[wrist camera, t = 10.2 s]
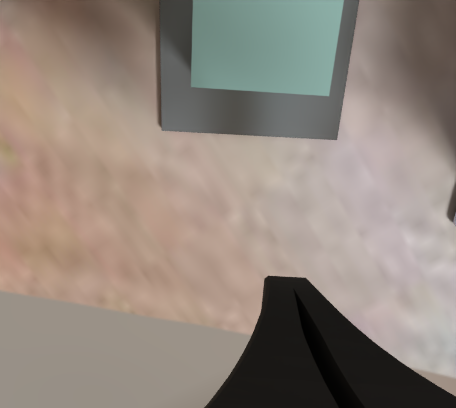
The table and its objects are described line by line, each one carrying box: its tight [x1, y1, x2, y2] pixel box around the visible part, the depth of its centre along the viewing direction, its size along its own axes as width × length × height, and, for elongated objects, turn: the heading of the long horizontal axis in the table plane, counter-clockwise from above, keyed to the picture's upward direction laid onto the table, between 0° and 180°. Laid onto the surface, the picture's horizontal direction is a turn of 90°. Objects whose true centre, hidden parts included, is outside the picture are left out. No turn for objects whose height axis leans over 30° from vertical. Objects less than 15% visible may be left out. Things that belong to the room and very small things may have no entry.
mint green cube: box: [191, 0, 344, 96], centre depth 14 cm, size 5×5×6 cm
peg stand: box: [160, 0, 359, 140], centre depth 15 cm, size 10×10×5 cm
